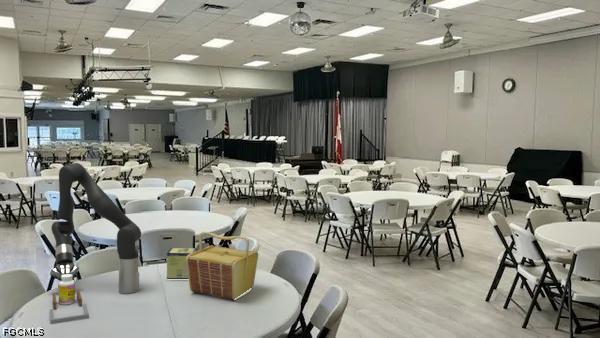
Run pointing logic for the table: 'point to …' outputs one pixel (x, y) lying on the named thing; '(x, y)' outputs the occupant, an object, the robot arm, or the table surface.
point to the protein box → (178, 262)
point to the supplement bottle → (66, 289)
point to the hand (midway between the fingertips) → (65, 286)
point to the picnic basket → (221, 269)
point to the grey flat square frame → (69, 316)
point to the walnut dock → (77, 300)
